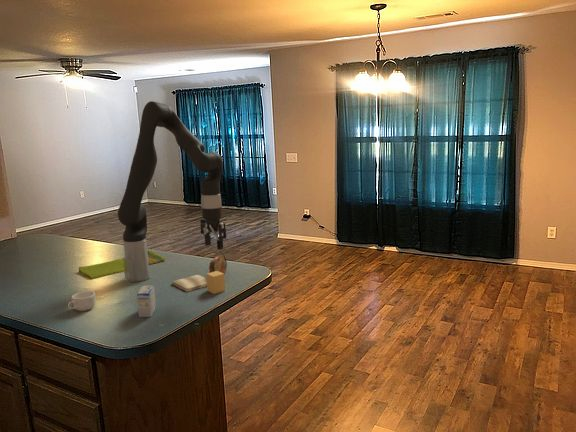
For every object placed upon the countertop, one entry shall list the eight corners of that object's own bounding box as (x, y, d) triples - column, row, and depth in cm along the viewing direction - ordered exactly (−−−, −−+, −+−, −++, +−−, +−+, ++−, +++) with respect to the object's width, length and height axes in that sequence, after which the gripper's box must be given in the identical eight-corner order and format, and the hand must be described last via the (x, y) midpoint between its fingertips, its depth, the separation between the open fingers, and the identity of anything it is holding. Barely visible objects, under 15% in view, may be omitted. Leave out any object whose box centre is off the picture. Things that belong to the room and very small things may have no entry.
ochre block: (214, 294, 177) (213, 276, 176) (207, 290, 181) (206, 273, 179) (225, 290, 180) (224, 273, 179) (218, 287, 184) (217, 270, 183)
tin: (215, 282, 190) (214, 262, 188) (208, 281, 191) (207, 262, 189) (227, 270, 204) (226, 252, 203) (220, 270, 205) (219, 252, 203)
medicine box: (143, 308, 165) (141, 285, 163) (156, 307, 165) (154, 284, 163) (138, 317, 157) (136, 293, 155) (152, 316, 157) (149, 293, 156)
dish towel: (166, 262, 221) (165, 255, 220) (91, 281, 196) (90, 273, 196) (150, 255, 232) (149, 249, 231) (77, 273, 207) (77, 266, 207)
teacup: (88, 303, 171) (87, 289, 170) (101, 307, 167) (99, 293, 166) (63, 312, 163) (61, 298, 162) (75, 317, 159) (73, 302, 157)
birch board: (187, 291, 180) (186, 288, 180) (172, 284, 189) (172, 281, 188) (213, 284, 188) (212, 281, 187) (197, 277, 196) (197, 274, 196)
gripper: (230, 206, 171) (232, 248, 174) (209, 202, 181) (212, 242, 185) (213, 209, 166) (215, 252, 169) (193, 205, 177) (195, 245, 180)
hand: (214, 247), depth 177 cm, fingers open, 8 cm apart
